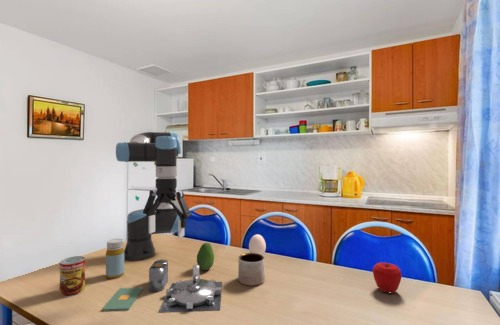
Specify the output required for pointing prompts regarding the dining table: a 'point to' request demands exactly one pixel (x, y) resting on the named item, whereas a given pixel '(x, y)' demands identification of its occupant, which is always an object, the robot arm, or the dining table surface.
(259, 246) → the egg
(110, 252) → the bottle
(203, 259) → the fruit
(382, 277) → the apple
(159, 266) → the silver capsule block
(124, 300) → the green flat board
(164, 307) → the bearing plate
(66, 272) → the canned food
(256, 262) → the planter
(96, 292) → the dining table surface
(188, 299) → the sprocket
